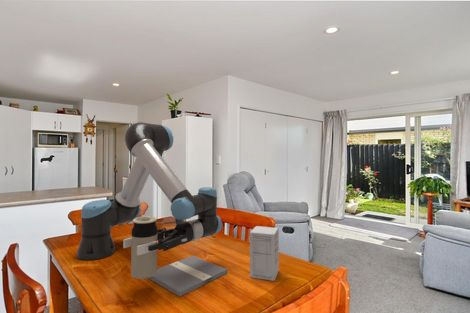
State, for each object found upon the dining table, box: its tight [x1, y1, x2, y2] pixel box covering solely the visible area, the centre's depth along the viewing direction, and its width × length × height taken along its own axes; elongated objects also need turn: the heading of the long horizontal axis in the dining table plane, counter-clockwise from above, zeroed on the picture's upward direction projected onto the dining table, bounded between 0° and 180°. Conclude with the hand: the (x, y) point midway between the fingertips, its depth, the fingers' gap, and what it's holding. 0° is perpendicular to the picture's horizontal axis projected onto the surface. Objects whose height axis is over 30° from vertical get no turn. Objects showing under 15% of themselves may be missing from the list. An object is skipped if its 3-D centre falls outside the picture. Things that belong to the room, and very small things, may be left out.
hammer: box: [156, 218, 187, 226], centre depth 155 cm, size 6×16×30 cm
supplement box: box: [249, 225, 280, 282], centre depth 99 cm, size 10×9×17 cm
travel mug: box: [130, 215, 159, 280], centre depth 85 cm, size 8×8×18 cm
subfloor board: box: [148, 255, 228, 297], centre depth 98 cm, size 20×22×2 cm
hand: (130, 247), depth 82 cm, fingers closed on travel mug, 8 cm apart
